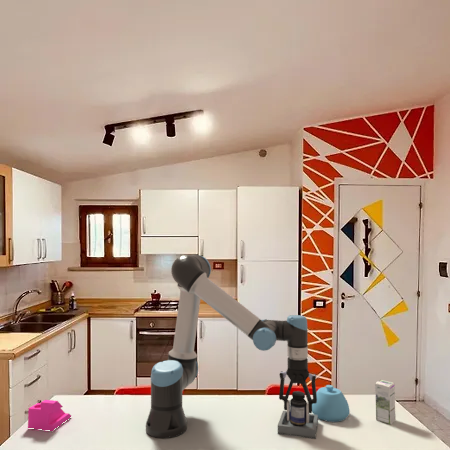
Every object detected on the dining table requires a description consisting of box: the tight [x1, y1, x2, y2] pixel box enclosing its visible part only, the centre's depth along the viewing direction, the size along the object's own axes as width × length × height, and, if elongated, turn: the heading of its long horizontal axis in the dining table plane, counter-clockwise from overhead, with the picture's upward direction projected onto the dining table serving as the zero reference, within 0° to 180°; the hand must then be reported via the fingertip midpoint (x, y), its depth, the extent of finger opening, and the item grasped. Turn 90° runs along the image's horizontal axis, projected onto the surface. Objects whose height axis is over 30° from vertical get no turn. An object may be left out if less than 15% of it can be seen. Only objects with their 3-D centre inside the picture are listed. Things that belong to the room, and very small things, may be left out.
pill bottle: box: [289, 390, 308, 427], centre depth 148 cm, size 6×6×11 cm
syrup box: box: [374, 379, 396, 425], centre depth 155 cm, size 6×6×14 cm
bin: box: [277, 410, 319, 440], centre depth 148 cm, size 13×13×3 cm
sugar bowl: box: [312, 384, 351, 423], centre depth 160 cm, size 15×15×12 cm
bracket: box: [27, 399, 72, 432], centre depth 152 cm, size 12×10×10 cm
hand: (298, 420), depth 148 cm, fingers open, 6 cm apart
